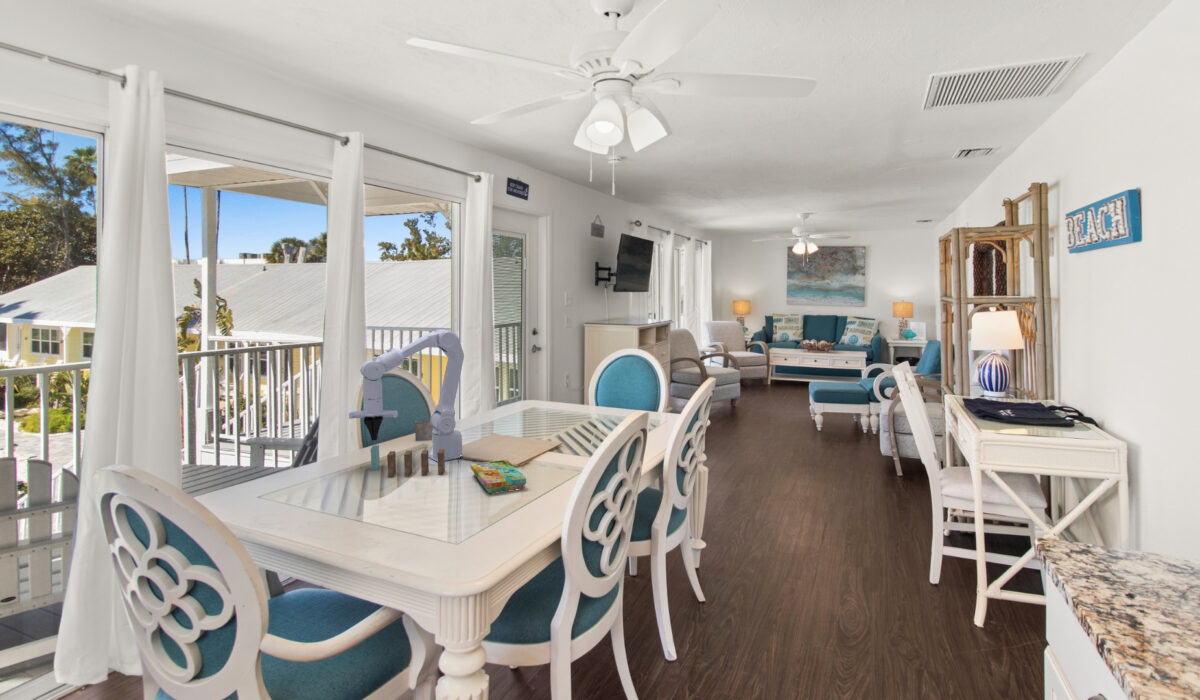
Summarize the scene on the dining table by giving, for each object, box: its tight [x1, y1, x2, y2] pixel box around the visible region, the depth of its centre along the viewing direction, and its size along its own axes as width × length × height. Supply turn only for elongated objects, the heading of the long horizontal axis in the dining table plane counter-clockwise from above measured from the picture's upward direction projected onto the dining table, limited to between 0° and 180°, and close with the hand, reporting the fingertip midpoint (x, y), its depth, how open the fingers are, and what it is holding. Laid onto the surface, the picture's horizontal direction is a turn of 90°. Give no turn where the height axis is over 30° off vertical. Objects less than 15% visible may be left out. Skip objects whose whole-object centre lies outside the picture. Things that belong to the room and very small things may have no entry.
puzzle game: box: [469, 459, 527, 494], centre depth 176 cm, size 12×5×20 cm
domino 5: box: [437, 449, 446, 476], centre depth 184 cm, size 2×4×7 cm, turn 9°
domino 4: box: [420, 449, 430, 477], centre depth 183 cm, size 2×4×7 cm, turn 9°
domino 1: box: [370, 444, 381, 471], centre depth 189 cm, size 2×4×7 cm, turn 9°
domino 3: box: [403, 449, 413, 478], centre depth 183 cm, size 2×4×7 cm, turn 9°
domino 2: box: [386, 450, 397, 478], centre depth 182 cm, size 2×4×7 cm, turn 9°
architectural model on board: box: [414, 419, 434, 442], centre depth 225 cm, size 11×3×10 cm, turn 100°
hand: (374, 439), depth 188 cm, fingers closed
